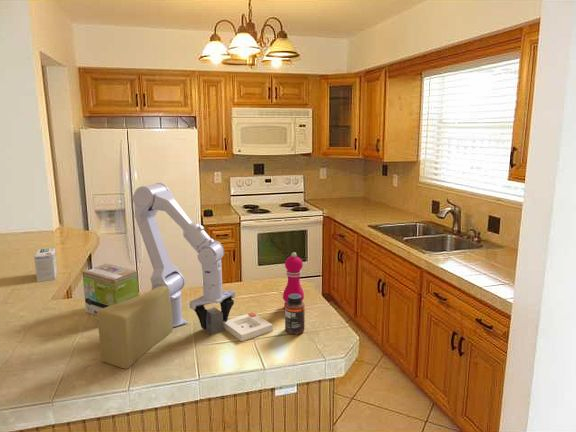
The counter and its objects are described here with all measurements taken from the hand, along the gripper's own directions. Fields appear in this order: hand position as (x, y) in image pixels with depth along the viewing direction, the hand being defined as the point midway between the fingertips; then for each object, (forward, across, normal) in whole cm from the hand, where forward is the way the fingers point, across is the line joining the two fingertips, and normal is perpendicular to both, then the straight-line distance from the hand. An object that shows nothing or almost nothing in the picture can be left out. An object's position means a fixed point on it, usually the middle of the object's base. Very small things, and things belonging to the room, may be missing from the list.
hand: (214, 324), depth 130 cm
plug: (+2, 0, 0) cm, 2 cm away
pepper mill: (+2, +29, -2) cm, 29 cm away
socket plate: (+2, +8, -6) cm, 10 cm away
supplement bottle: (+2, +19, -15) cm, 25 cm away
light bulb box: (+1, -32, +83) cm, 89 cm away
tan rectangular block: (+2, -21, +3) cm, 21 cm away
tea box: (+2, -21, +32) cm, 38 cm away
